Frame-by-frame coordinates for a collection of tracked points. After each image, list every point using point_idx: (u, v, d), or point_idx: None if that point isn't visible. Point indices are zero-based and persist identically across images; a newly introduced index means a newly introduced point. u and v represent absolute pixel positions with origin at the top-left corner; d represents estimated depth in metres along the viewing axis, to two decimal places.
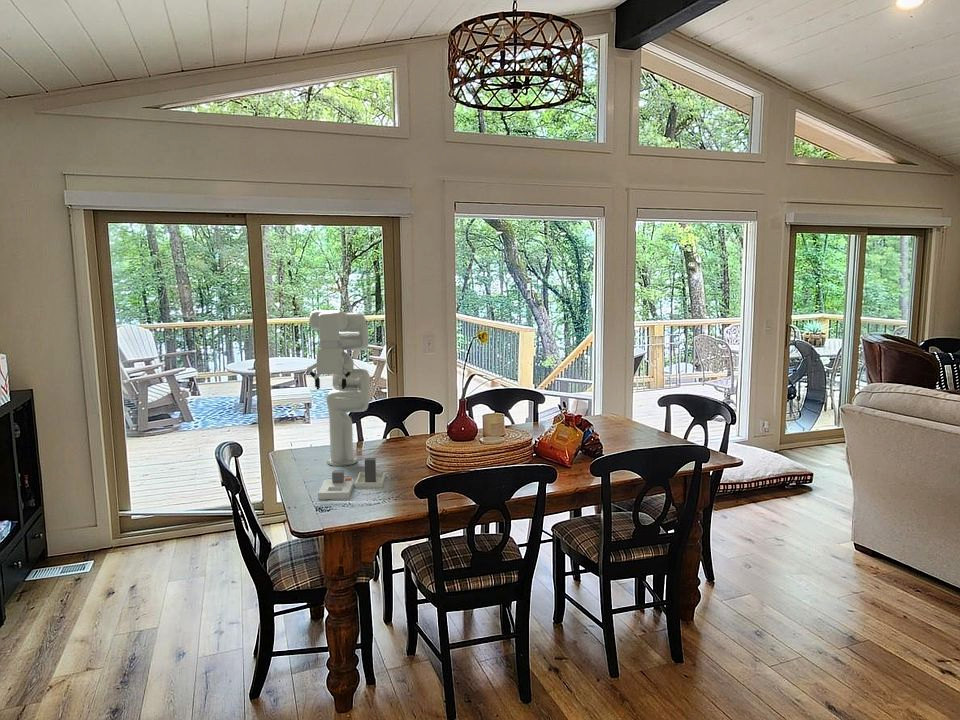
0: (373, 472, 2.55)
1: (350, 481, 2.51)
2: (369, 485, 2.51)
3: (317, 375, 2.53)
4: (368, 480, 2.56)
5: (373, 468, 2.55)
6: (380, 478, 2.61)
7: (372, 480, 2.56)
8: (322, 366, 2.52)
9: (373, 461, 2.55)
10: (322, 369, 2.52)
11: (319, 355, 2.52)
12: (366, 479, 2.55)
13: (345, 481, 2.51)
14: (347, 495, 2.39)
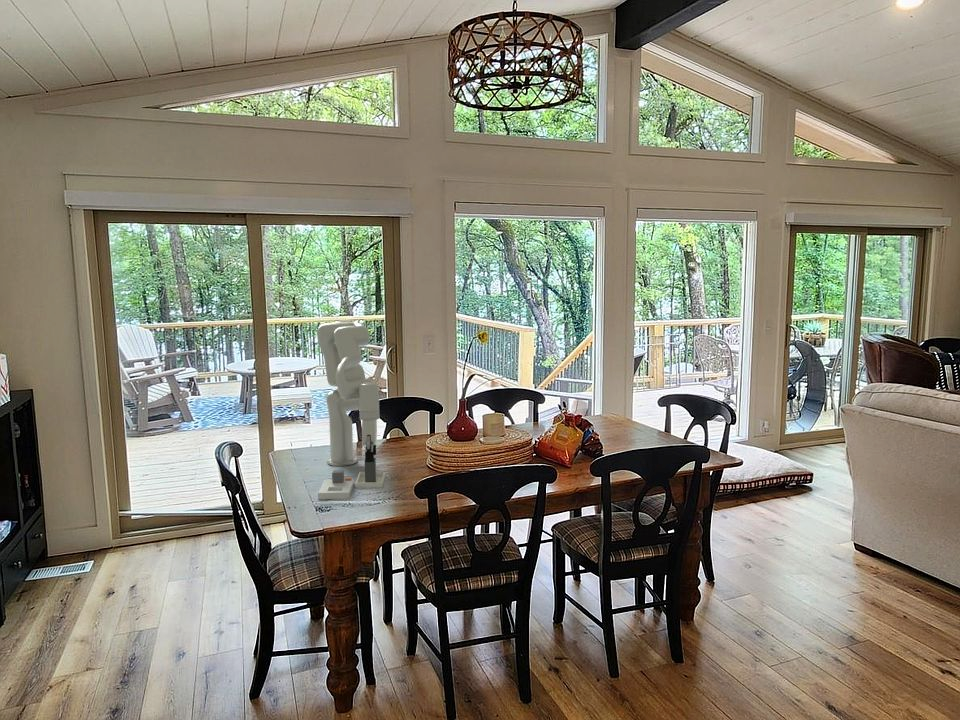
0: (373, 472, 2.55)
1: (350, 481, 2.51)
2: (369, 485, 2.51)
3: (372, 447, 2.50)
4: (368, 480, 2.56)
5: (373, 468, 2.55)
6: (380, 478, 2.61)
7: (372, 480, 2.56)
8: (375, 436, 2.52)
9: None
10: (375, 439, 2.52)
11: (374, 426, 2.50)
12: (366, 479, 2.55)
13: (345, 481, 2.51)
14: (347, 495, 2.39)
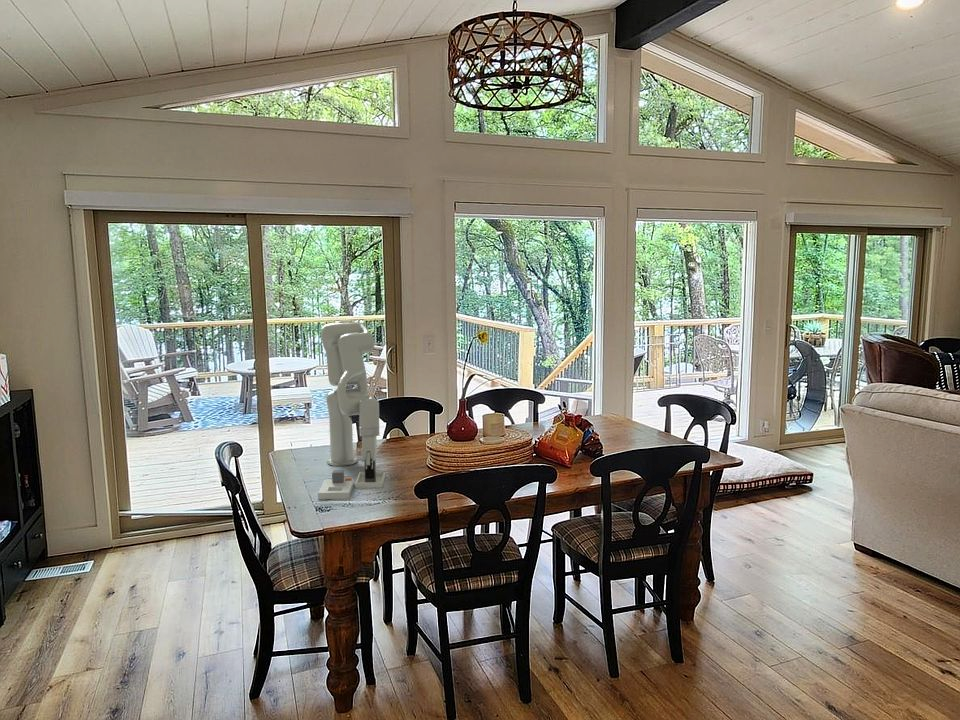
0: None
1: (350, 481, 2.51)
2: (369, 485, 2.51)
3: None
4: (368, 479, 2.56)
5: (373, 467, 2.55)
6: (380, 478, 2.61)
7: (372, 479, 2.56)
8: (375, 452, 2.53)
9: None
10: (375, 455, 2.53)
11: (374, 442, 2.52)
12: None
13: (345, 481, 2.51)
14: (347, 495, 2.39)
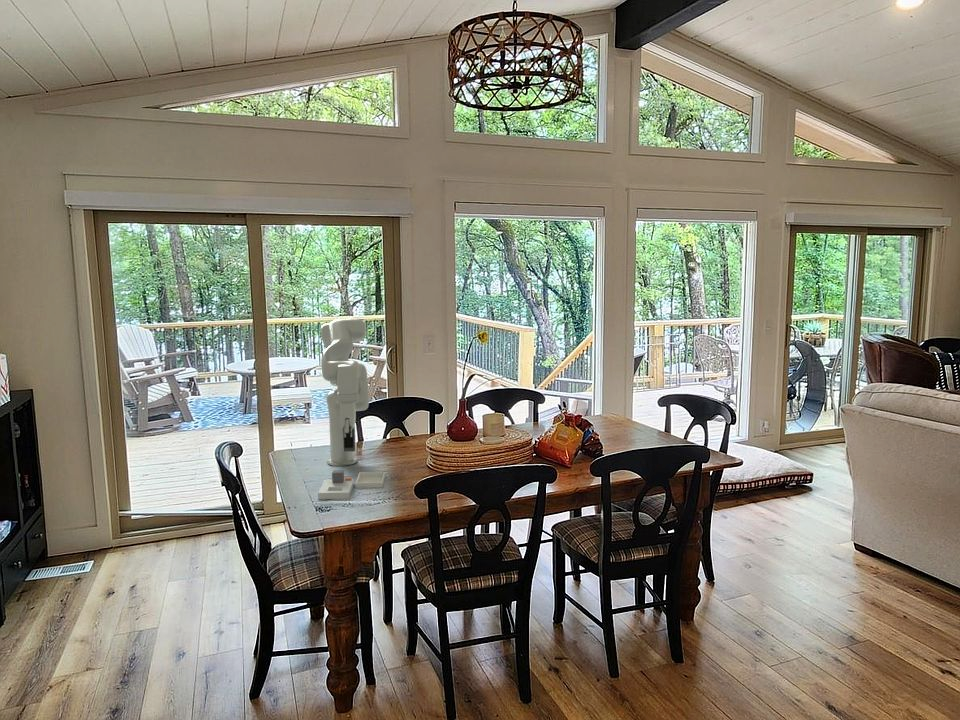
0: None
1: (350, 481, 2.51)
2: (369, 485, 2.51)
3: None
4: (347, 448, 2.44)
5: (352, 436, 2.44)
6: (380, 478, 2.61)
7: (351, 448, 2.45)
8: (354, 420, 2.42)
9: None
10: (354, 423, 2.42)
11: (353, 409, 2.41)
12: None
13: (345, 481, 2.51)
14: (347, 495, 2.39)
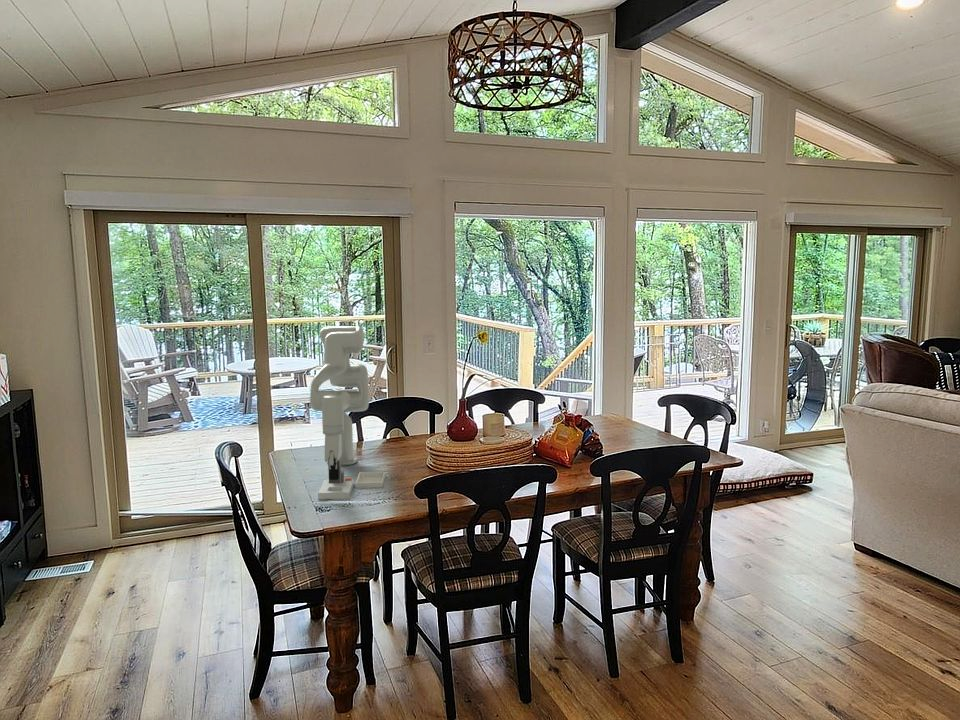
0: None
1: (350, 481, 2.51)
2: (369, 485, 2.51)
3: None
4: (332, 480, 2.40)
5: (337, 468, 2.40)
6: (380, 478, 2.61)
7: (336, 480, 2.40)
8: (339, 452, 2.38)
9: None
10: (339, 455, 2.38)
11: (338, 441, 2.36)
12: None
13: (345, 481, 2.51)
14: (347, 495, 2.39)
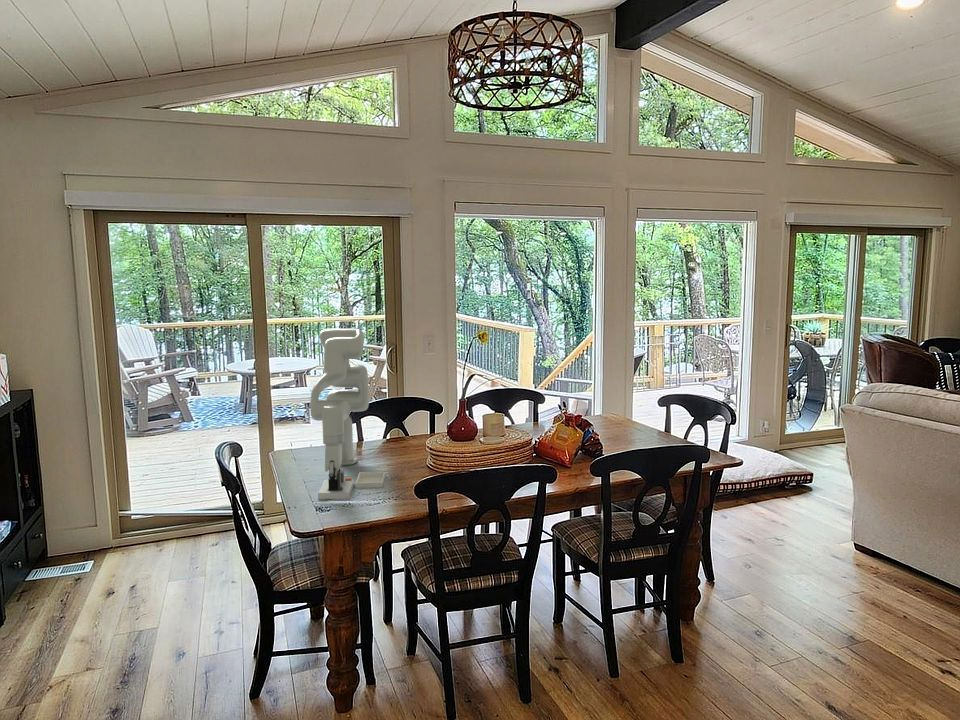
0: (338, 487, 2.41)
1: (350, 481, 2.51)
2: (369, 485, 2.51)
3: (336, 474, 2.38)
4: None
5: (338, 483, 2.41)
6: (380, 478, 2.61)
7: None
8: (339, 462, 2.38)
9: (337, 475, 2.40)
10: (339, 465, 2.38)
11: (338, 451, 2.37)
12: None
13: (345, 481, 2.51)
14: (347, 495, 2.39)
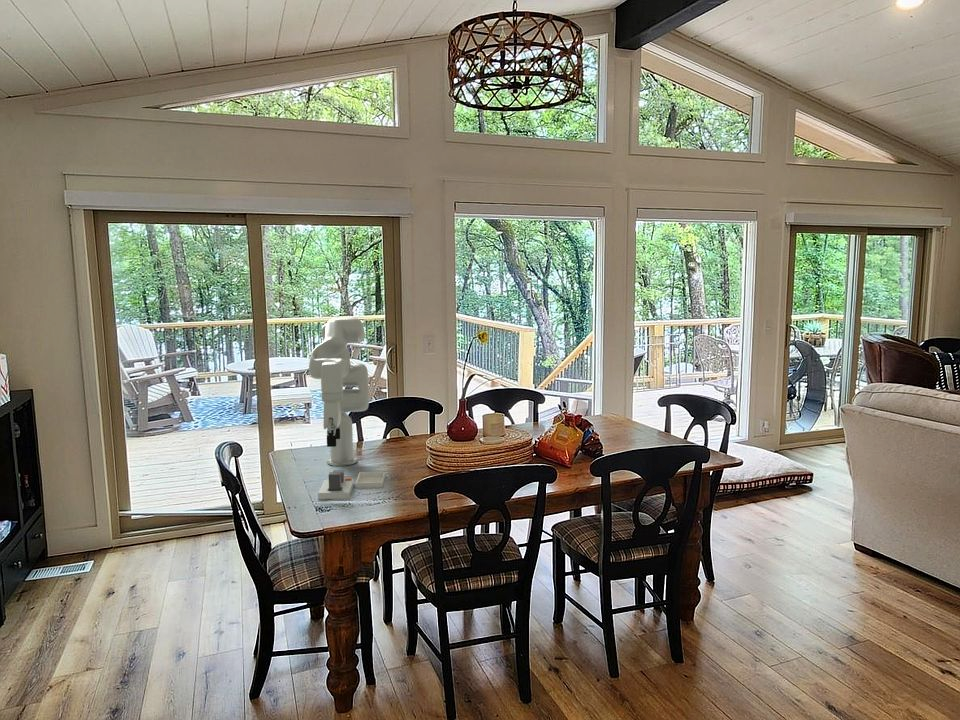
0: (338, 487, 2.41)
1: (350, 481, 2.51)
2: (369, 485, 2.51)
3: (335, 431, 2.35)
4: None
5: (338, 483, 2.41)
6: (380, 478, 2.61)
7: None
8: (338, 419, 2.36)
9: (338, 475, 2.40)
10: (338, 422, 2.37)
11: (337, 408, 2.35)
12: None
13: (345, 481, 2.51)
14: (347, 495, 2.39)
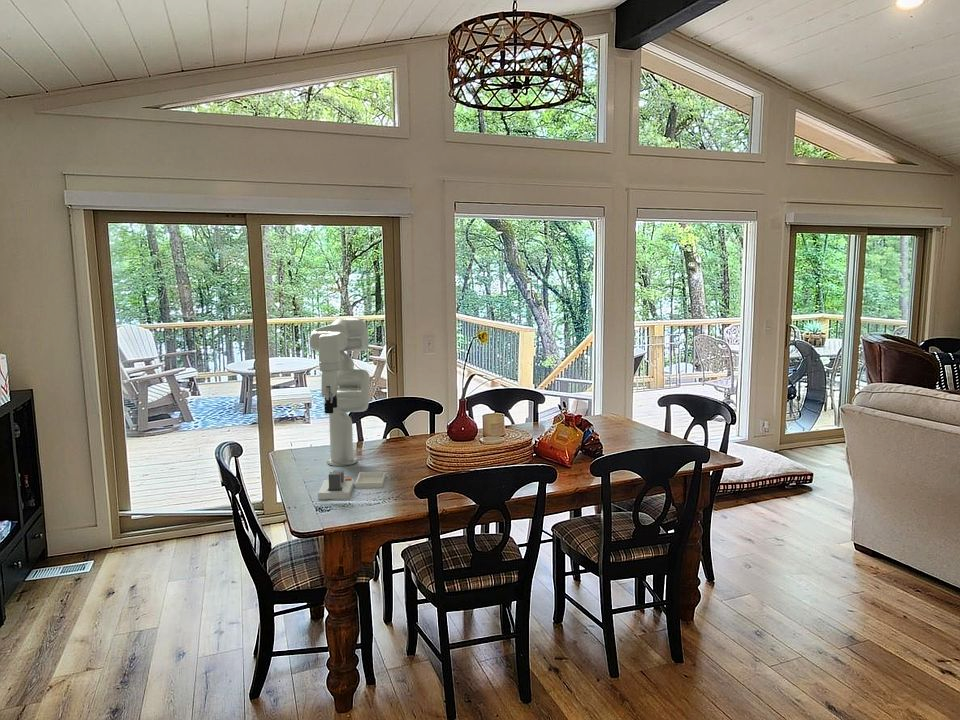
0: (338, 487, 2.41)
1: (350, 481, 2.51)
2: (369, 485, 2.51)
3: (332, 398, 2.51)
4: None
5: (338, 483, 2.41)
6: (380, 478, 2.61)
7: None
8: (335, 388, 2.52)
9: (338, 475, 2.40)
10: (335, 391, 2.52)
11: (334, 377, 2.51)
12: None
13: (345, 481, 2.51)
14: (347, 495, 2.39)
